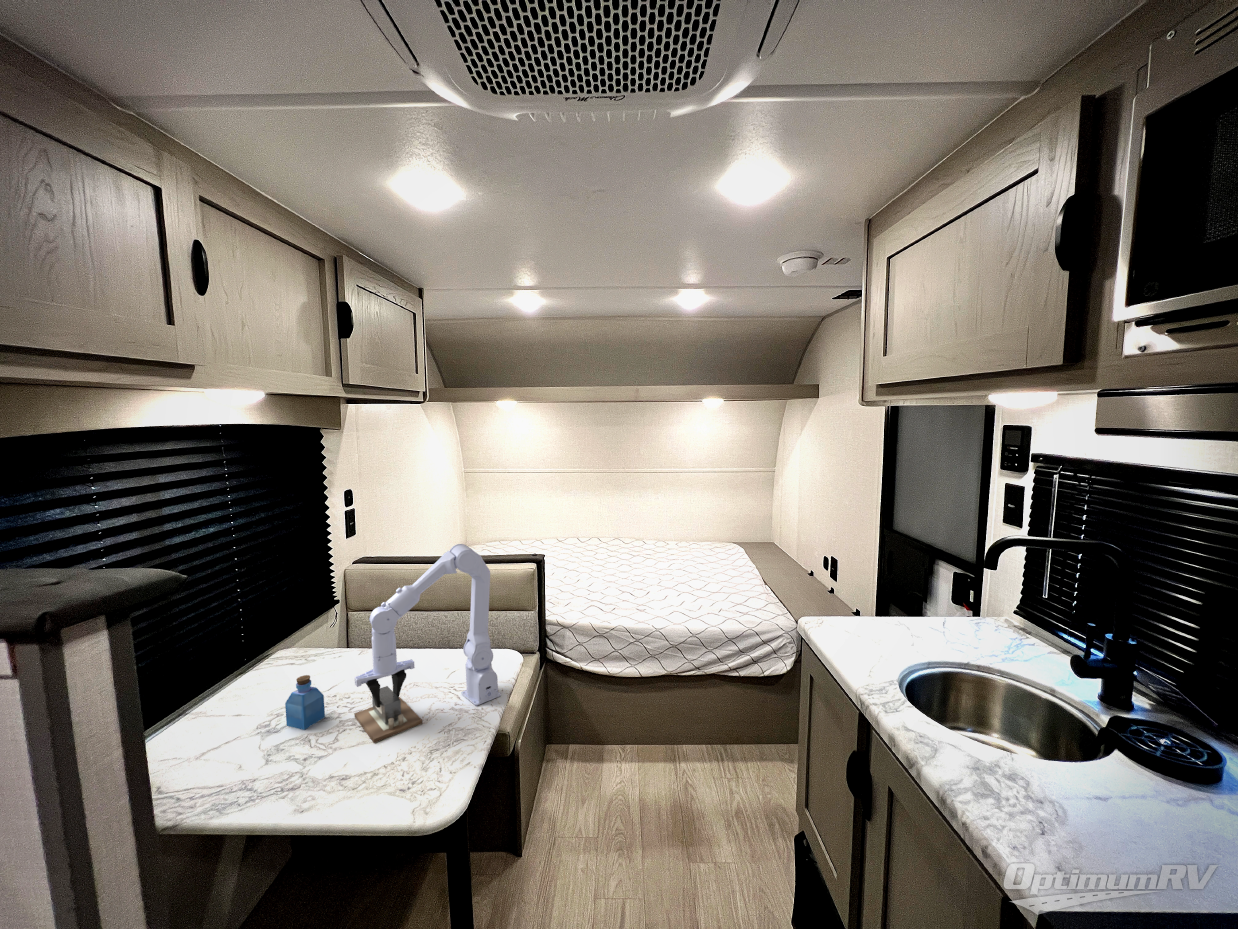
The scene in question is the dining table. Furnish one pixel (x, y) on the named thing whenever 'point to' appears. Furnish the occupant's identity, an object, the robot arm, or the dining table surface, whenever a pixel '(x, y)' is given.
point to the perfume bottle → (304, 705)
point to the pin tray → (381, 730)
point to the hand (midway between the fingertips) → (386, 702)
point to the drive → (388, 705)
